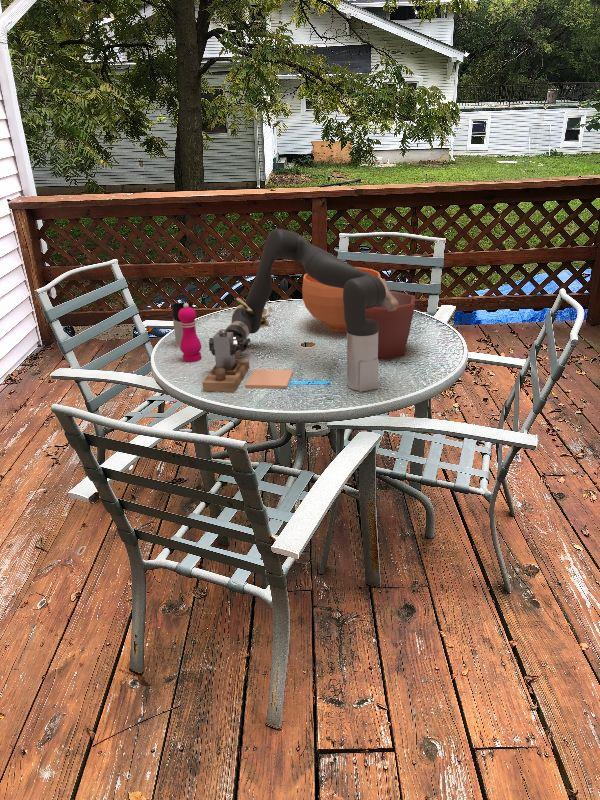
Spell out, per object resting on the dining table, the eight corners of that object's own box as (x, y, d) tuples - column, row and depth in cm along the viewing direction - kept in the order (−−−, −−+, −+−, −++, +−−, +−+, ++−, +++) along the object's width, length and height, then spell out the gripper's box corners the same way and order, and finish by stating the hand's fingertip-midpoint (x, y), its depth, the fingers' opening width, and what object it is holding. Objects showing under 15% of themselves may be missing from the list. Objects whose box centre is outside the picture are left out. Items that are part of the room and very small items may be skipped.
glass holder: (194, 338, 240) (189, 300, 234) (207, 349, 228) (202, 309, 222) (171, 343, 236) (166, 304, 230) (184, 354, 225) (179, 313, 218)
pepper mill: (191, 354, 224) (184, 299, 216) (206, 357, 221) (200, 301, 212) (177, 360, 218) (170, 304, 210) (193, 363, 215) (187, 307, 207)
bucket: (411, 365, 205) (413, 290, 195) (343, 363, 210) (342, 289, 200) (414, 341, 227) (416, 272, 217) (353, 339, 232) (352, 271, 221)
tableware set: (227, 311, 275) (226, 298, 272) (272, 308, 277) (271, 295, 274) (229, 332, 248) (228, 317, 245) (279, 328, 250) (278, 314, 247)
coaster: (254, 372, 206) (254, 369, 205) (293, 372, 204) (293, 369, 203) (245, 387, 194) (245, 384, 194) (286, 388, 192) (286, 385, 192)
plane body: (220, 367, 211) (218, 350, 208) (249, 368, 209) (248, 351, 207) (203, 391, 193) (201, 373, 190) (235, 392, 191) (233, 373, 189)
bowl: (360, 312, 263) (360, 263, 254) (395, 332, 237) (396, 278, 228) (292, 322, 253) (290, 272, 245) (321, 344, 227) (320, 289, 219)
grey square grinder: (220, 367, 202) (217, 328, 197) (236, 367, 202) (232, 328, 196) (216, 373, 198) (212, 333, 192) (232, 373, 197) (228, 333, 192)
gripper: (213, 324, 209) (198, 340, 194) (255, 324, 207) (244, 341, 192) (215, 345, 212) (201, 363, 197) (257, 346, 210) (245, 364, 195)
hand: (222, 352), depth 195 cm, fingers closed on grey square grinder, 5 cm apart
